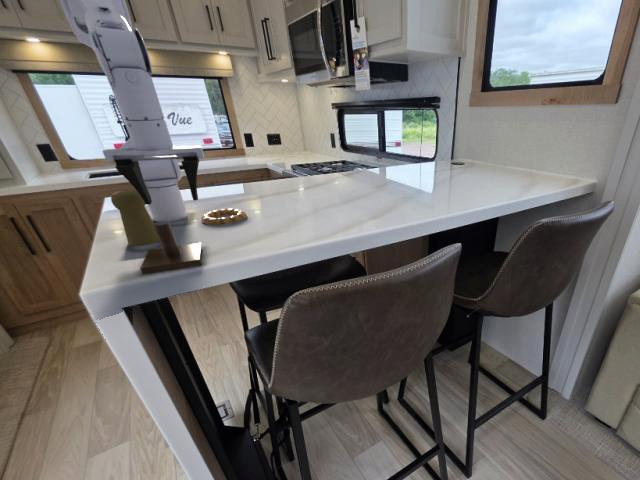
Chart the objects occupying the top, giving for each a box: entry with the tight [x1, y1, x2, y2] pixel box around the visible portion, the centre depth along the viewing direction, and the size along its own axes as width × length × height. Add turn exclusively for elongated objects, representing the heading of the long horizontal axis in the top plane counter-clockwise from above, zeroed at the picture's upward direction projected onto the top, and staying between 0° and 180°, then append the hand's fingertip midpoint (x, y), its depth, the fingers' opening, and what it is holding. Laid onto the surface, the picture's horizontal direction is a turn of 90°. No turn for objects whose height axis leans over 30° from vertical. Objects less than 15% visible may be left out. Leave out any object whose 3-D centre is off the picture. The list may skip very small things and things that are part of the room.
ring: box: [201, 208, 248, 226], centre depth 81 cm, size 10×10×2 cm
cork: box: [110, 189, 160, 247], centre depth 65 cm, size 6×6×11 cm
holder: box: [139, 221, 204, 275], centre depth 60 cm, size 9×9×7 cm
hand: (173, 201), depth 62 cm, fingers open, 7 cm apart
